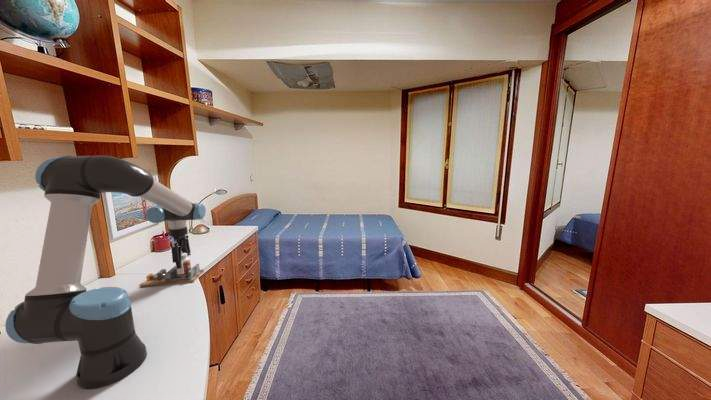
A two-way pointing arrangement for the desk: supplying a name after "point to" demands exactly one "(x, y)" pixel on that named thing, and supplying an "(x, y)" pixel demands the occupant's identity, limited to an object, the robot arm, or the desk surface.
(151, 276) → the pin
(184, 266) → the pill bottle
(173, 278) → the mount
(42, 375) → the desk surface
